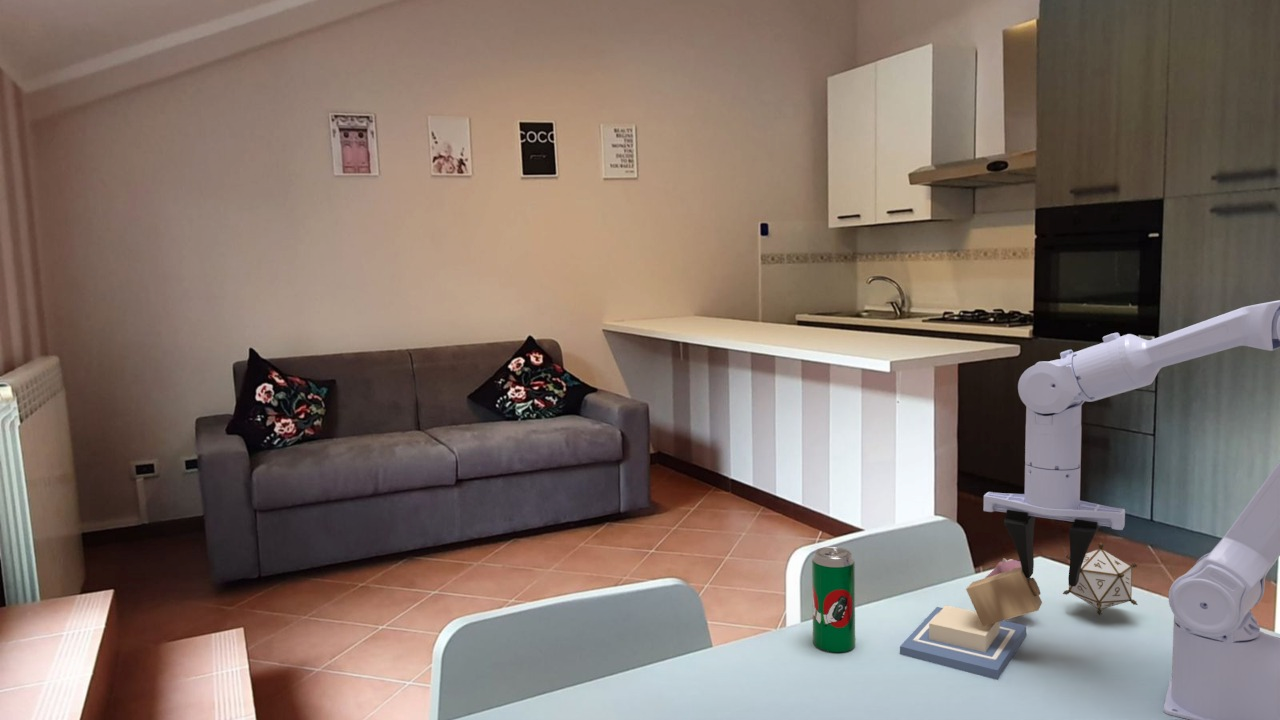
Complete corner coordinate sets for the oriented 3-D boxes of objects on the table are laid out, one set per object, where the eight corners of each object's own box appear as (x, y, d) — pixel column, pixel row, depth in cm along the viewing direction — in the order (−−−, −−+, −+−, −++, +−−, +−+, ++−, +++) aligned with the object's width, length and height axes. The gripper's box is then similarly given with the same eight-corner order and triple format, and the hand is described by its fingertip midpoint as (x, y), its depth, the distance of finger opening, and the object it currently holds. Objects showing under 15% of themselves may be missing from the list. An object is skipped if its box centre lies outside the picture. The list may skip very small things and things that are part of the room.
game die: (1137, 635, 102) (1139, 556, 101) (1060, 622, 107) (1062, 547, 106) (1136, 609, 110) (1138, 535, 109) (1064, 598, 114) (1066, 527, 113)
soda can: (863, 647, 102) (863, 552, 100) (838, 660, 98) (837, 562, 97) (829, 634, 105) (828, 542, 104) (804, 646, 102) (803, 552, 101)
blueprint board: (1026, 634, 104) (1026, 610, 103) (997, 680, 92) (997, 653, 92) (936, 615, 110) (936, 592, 110) (899, 655, 99) (899, 630, 99)
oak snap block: (988, 617, 101) (1047, 600, 98) (982, 626, 98) (1043, 608, 94) (972, 582, 103) (1029, 564, 99) (965, 589, 99) (1025, 570, 95)
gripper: (1129, 464, 94) (1126, 580, 95) (994, 451, 103) (993, 557, 104) (1121, 478, 88) (1117, 600, 90) (979, 462, 97) (977, 575, 98)
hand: (1050, 579), depth 96 cm, fingers open, 4 cm apart
